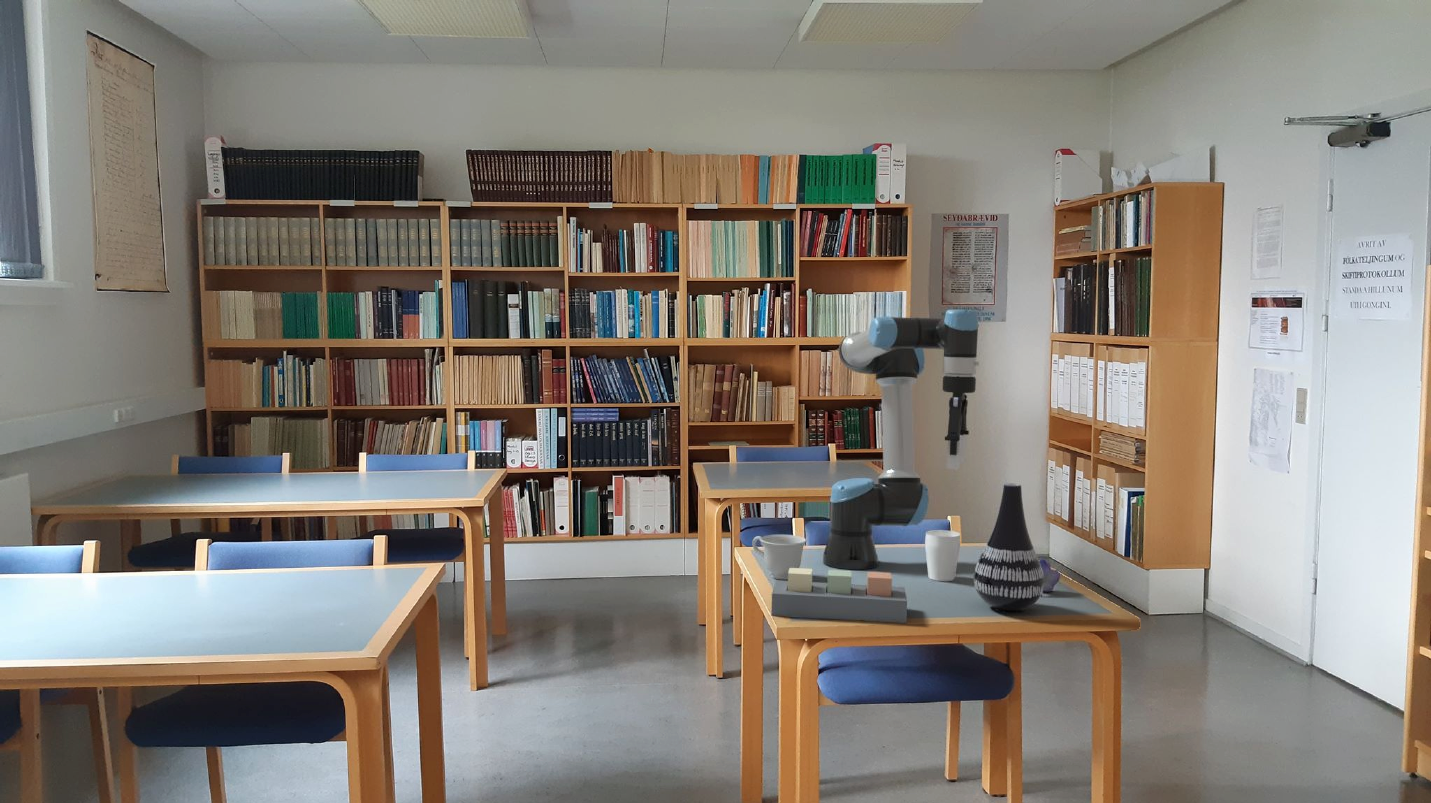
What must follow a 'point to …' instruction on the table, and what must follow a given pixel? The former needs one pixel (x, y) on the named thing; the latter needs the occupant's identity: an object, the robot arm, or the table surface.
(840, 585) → the button sage
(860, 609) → the panel
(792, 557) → the teacup
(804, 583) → the button cream
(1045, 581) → the flower
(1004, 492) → the vase
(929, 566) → the cup
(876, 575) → the button terracotta
